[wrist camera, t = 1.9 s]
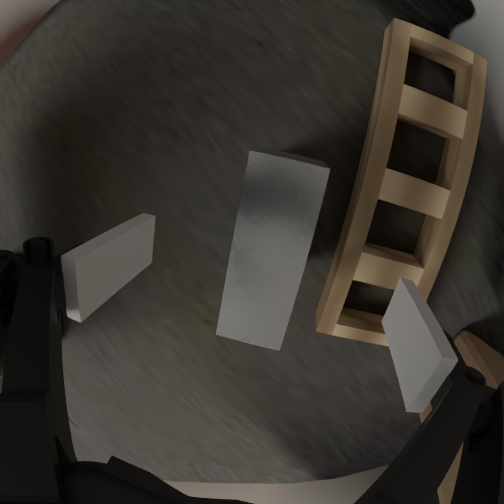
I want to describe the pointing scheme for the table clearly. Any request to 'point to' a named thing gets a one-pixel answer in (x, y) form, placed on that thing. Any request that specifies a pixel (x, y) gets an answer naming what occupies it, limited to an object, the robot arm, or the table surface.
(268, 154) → the grey concrete brick
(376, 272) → the rail
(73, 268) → the robot arm
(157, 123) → the table surface
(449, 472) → the wooden block
